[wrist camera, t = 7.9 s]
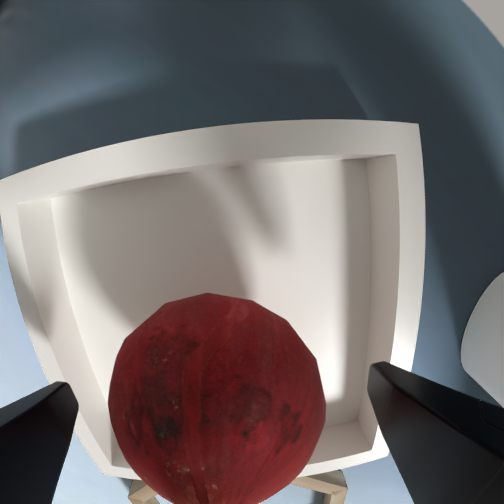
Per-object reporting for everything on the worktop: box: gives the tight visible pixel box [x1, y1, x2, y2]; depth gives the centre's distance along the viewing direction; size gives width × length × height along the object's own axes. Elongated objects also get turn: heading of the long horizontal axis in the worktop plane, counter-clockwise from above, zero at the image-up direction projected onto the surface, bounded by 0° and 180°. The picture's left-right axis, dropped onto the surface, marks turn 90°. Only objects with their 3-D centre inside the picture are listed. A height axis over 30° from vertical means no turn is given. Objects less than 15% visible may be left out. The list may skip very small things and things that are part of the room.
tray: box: [0, 119, 425, 480], centre depth 10 cm, size 14×14×3 cm
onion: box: [108, 293, 326, 504], centre depth 7 cm, size 6×6×8 cm
